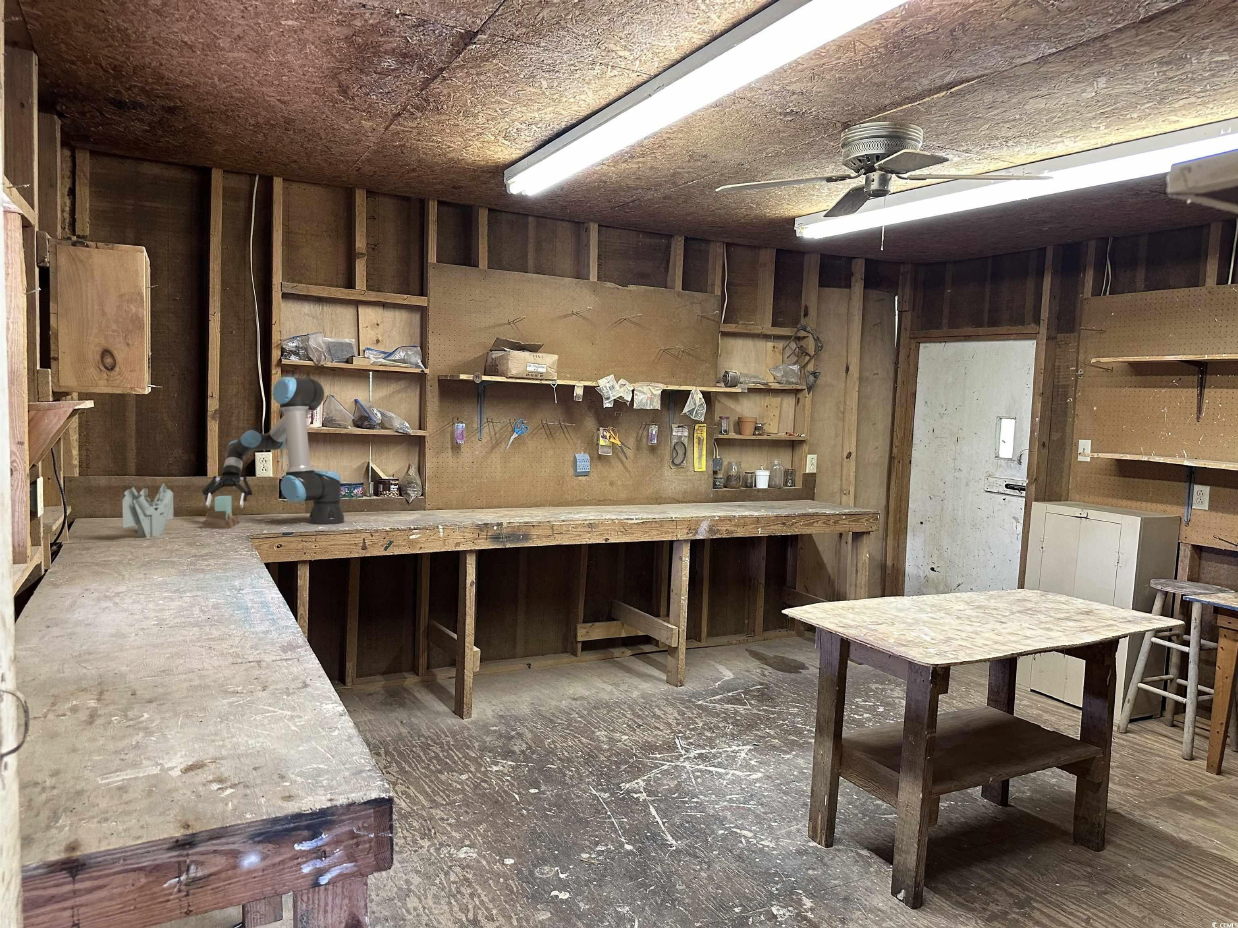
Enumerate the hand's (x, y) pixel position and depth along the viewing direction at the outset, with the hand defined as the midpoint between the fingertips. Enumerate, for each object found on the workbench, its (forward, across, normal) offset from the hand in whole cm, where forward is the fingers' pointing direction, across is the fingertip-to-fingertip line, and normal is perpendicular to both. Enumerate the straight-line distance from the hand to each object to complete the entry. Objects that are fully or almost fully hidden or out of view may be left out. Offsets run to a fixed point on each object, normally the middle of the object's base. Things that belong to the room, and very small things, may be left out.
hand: (224, 506), depth 358 cm
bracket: (+29, +19, +18) cm, 39 cm away
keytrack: (+10, 0, 0) cm, 10 cm away
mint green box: (+7, 0, -2) cm, 7 cm away
